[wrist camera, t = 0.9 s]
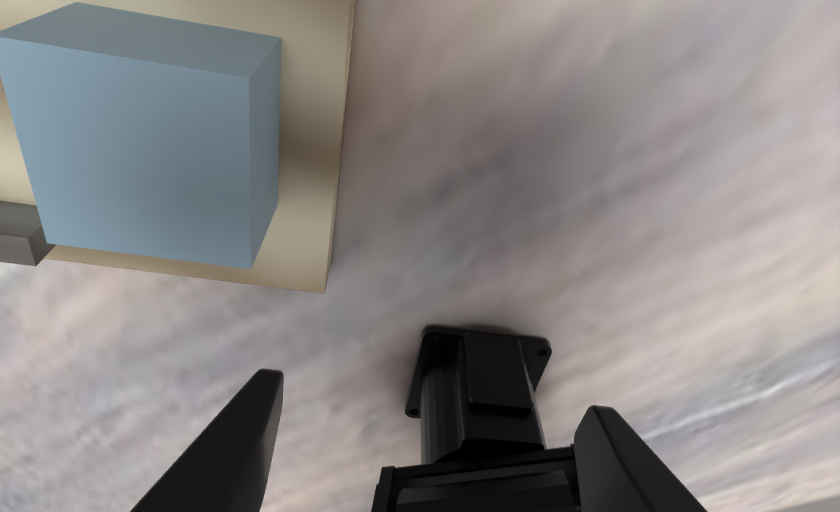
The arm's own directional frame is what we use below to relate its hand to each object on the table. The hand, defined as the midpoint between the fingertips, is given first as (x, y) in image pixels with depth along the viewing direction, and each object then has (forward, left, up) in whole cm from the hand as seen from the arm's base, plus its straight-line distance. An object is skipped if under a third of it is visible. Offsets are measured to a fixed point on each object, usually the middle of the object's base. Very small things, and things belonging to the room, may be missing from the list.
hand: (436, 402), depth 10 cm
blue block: (0, +8, -11) cm, 14 cm away
